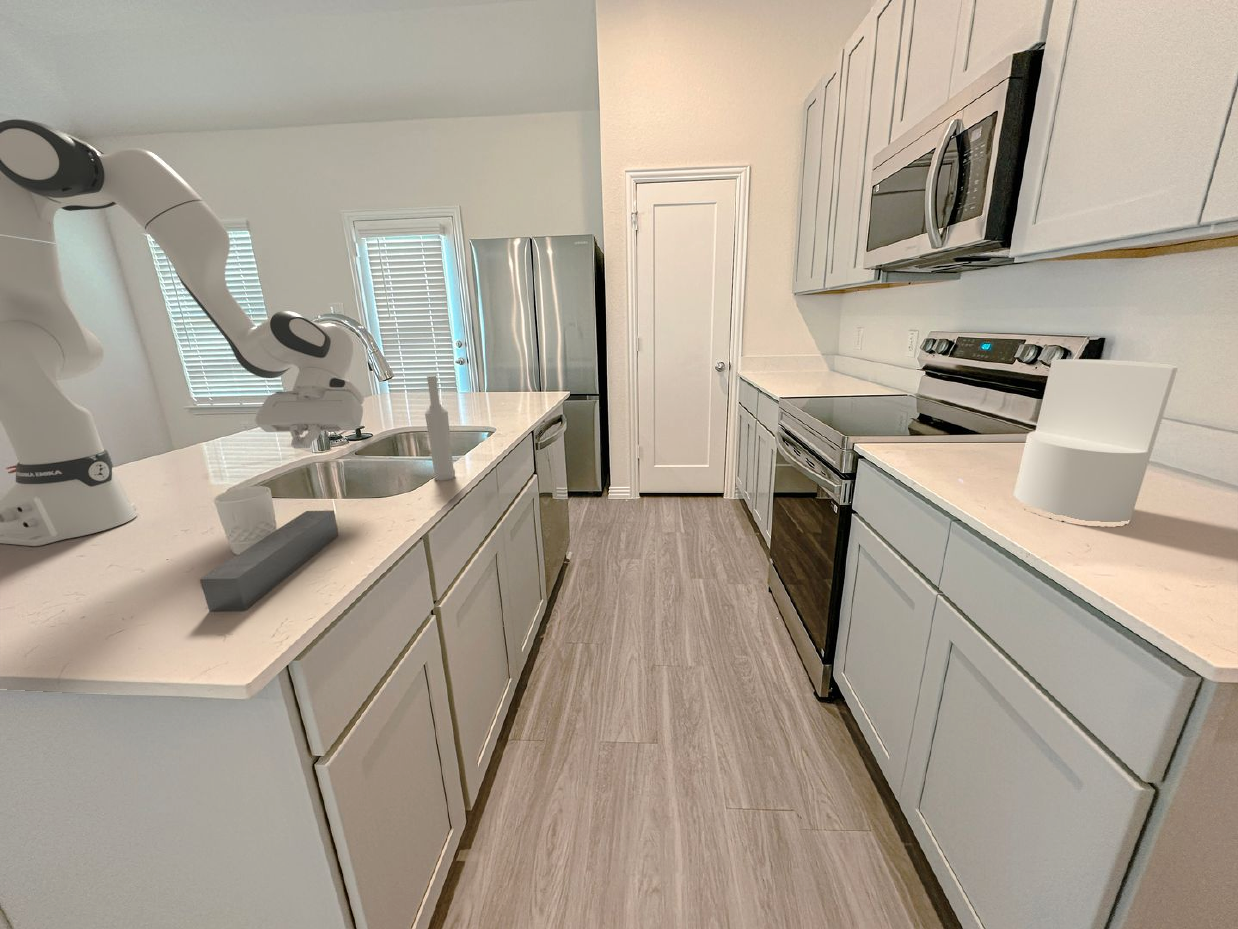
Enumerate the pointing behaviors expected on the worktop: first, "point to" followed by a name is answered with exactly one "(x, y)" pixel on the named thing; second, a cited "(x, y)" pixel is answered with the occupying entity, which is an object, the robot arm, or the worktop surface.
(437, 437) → the bottle
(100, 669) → the worktop surface
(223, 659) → the worktop surface
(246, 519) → the white cup
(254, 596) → the long dark grey beam
